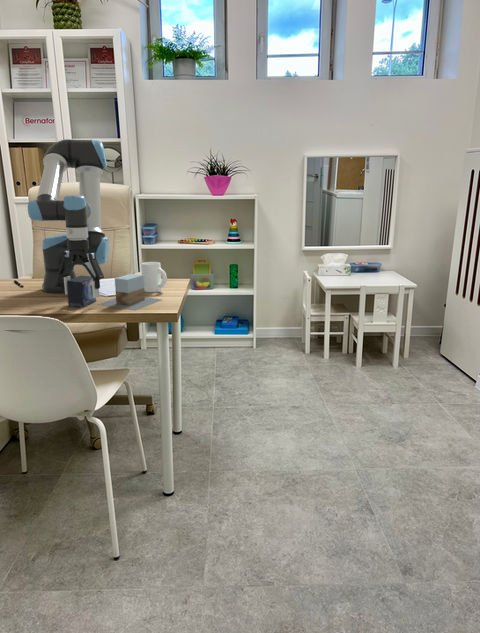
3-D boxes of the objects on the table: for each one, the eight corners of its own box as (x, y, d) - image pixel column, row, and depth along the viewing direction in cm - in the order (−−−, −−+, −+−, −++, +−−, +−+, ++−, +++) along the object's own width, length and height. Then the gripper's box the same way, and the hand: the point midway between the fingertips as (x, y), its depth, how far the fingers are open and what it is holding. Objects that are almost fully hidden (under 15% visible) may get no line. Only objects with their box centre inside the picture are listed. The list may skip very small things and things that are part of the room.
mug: (160, 294, 200) (159, 266, 197) (138, 291, 206) (137, 263, 202) (172, 291, 207) (171, 263, 204) (150, 287, 213) (149, 261, 209)
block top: (115, 291, 182) (114, 278, 181) (131, 286, 191) (131, 273, 190) (128, 292, 180) (127, 279, 178) (144, 287, 189) (143, 275, 187)
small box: (83, 309, 177) (81, 281, 174) (67, 308, 179) (65, 280, 176) (97, 302, 187) (95, 276, 184) (82, 301, 189) (80, 275, 186)
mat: (96, 305, 183) (96, 304, 183) (126, 295, 198) (126, 294, 198) (135, 311, 175) (135, 310, 175) (163, 300, 191) (163, 299, 191)
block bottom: (116, 303, 184) (115, 291, 182) (132, 298, 192) (131, 286, 191) (129, 305, 181) (128, 292, 180) (144, 300, 190) (144, 287, 189)
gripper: (44, 238, 178) (50, 293, 183) (97, 241, 168) (101, 300, 173) (59, 236, 184) (64, 290, 190) (111, 239, 174) (114, 296, 180)
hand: (82, 295), depth 182 cm, fingers open, 13 cm apart
